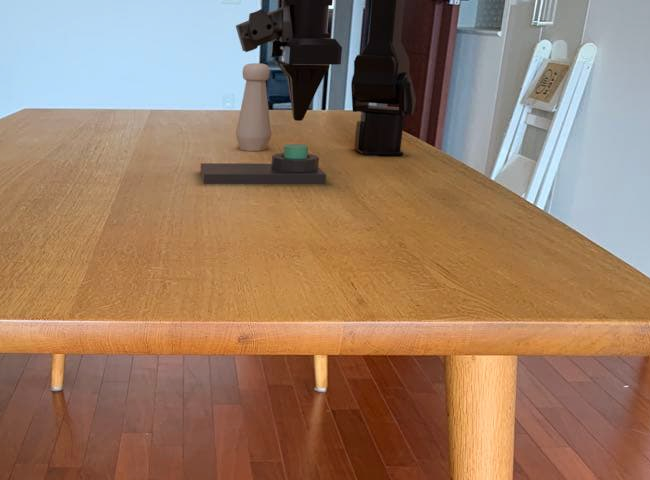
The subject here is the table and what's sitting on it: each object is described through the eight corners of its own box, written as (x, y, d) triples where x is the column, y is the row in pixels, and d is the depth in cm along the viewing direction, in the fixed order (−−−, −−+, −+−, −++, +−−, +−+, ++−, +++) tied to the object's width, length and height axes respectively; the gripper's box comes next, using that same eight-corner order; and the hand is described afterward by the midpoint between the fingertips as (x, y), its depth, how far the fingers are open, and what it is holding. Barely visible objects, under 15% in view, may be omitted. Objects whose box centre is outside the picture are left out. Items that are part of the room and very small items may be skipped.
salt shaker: (271, 152, 130) (276, 64, 125) (236, 151, 130) (238, 64, 125) (269, 146, 136) (273, 62, 130) (234, 146, 136) (237, 62, 130)
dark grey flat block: (313, 173, 113) (315, 151, 112) (325, 184, 106) (327, 161, 105) (200, 173, 113) (200, 151, 111) (204, 184, 106) (204, 161, 104)
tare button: (304, 157, 110) (305, 143, 109) (309, 161, 107) (310, 147, 106) (281, 157, 110) (282, 143, 109) (285, 161, 107) (286, 147, 106)
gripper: (234, -12, 108) (230, 112, 114) (250, -16, 91) (245, 129, 98) (317, -11, 108) (308, 112, 115) (348, -15, 91) (336, 130, 98)
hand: (297, 120), depth 106 cm, fingers closed
